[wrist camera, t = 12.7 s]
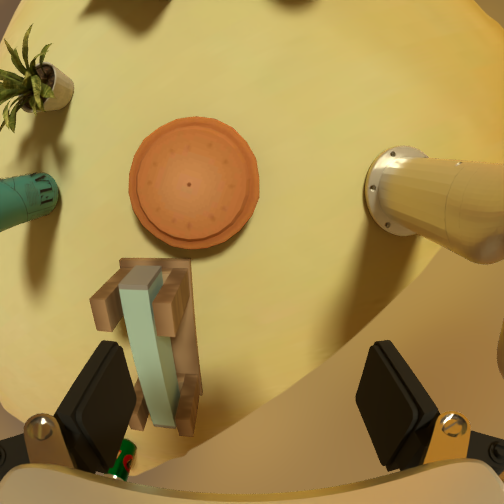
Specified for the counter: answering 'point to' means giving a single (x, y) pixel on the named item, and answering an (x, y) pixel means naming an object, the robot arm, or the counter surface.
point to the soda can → (122, 462)
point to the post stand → (161, 332)
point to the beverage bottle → (26, 198)
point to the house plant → (33, 85)
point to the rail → (150, 344)
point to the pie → (194, 182)
